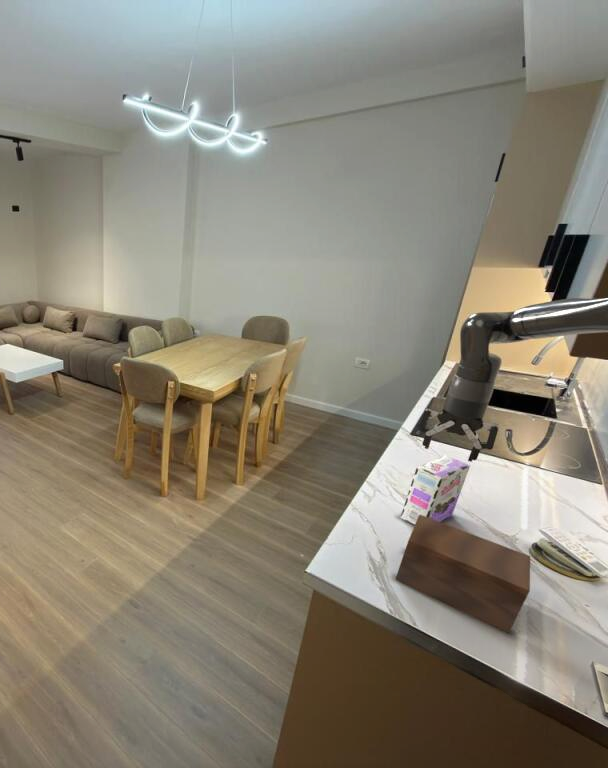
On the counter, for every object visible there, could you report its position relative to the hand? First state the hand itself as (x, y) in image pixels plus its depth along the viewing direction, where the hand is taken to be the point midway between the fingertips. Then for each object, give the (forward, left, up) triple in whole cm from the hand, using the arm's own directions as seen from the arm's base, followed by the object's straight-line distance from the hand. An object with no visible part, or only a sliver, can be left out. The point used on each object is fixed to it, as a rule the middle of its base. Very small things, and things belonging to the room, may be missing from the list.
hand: (447, 453), depth 100 cm
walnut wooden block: (-8, +25, -20) cm, 33 cm away
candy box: (0, 0, -20) cm, 20 cm away
